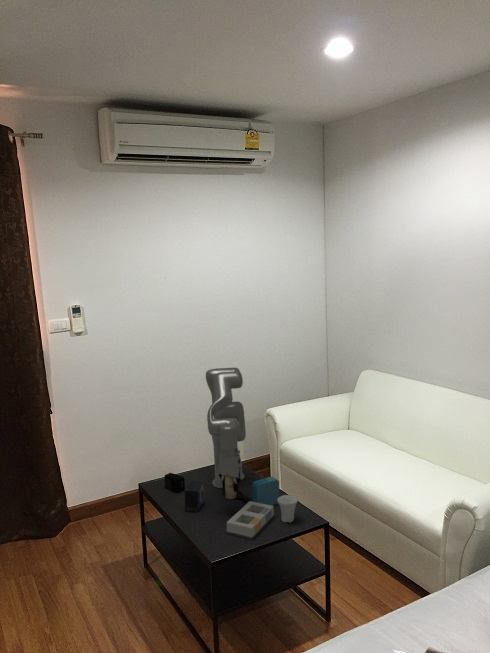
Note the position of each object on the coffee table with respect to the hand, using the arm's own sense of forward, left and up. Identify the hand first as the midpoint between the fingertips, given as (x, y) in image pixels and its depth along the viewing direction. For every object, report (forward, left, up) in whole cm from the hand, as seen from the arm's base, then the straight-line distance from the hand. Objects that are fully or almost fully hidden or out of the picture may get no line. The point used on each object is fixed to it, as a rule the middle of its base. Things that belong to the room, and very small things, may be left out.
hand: (230, 488), depth 242 cm
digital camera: (-11, -40, -13) cm, 43 cm away
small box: (+1, -20, -12) cm, 23 cm away
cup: (-5, +25, -12) cm, 29 cm away
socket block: (+5, +12, -12) cm, 18 cm away
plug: (0, 0, -4) cm, 4 cm away
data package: (-15, +10, -12) cm, 22 cm away
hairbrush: (-16, -4, -13) cm, 21 cm away
